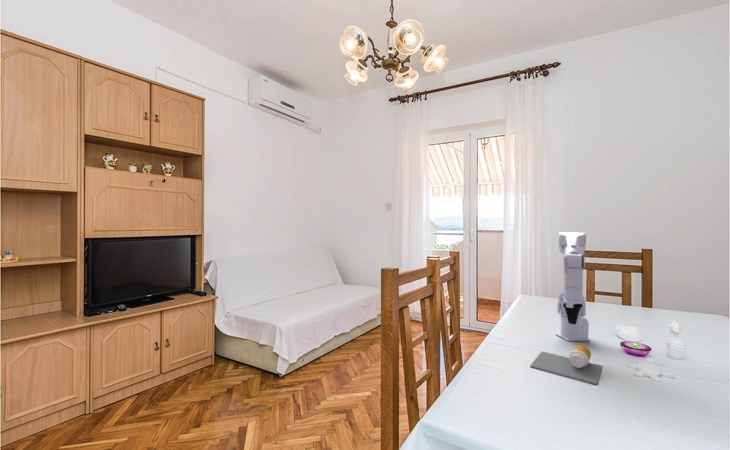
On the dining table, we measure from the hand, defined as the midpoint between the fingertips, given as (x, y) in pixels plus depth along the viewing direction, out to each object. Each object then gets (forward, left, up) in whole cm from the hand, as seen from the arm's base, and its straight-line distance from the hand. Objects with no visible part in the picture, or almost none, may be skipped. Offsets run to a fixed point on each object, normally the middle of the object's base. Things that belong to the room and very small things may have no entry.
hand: (572, 323), depth 121 cm
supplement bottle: (+2, +8, -7) cm, 11 cm away
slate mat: (+11, +12, -10) cm, 19 cm away
